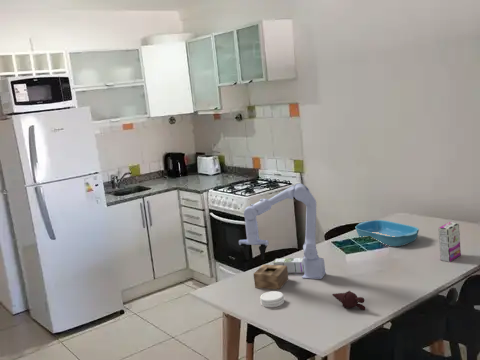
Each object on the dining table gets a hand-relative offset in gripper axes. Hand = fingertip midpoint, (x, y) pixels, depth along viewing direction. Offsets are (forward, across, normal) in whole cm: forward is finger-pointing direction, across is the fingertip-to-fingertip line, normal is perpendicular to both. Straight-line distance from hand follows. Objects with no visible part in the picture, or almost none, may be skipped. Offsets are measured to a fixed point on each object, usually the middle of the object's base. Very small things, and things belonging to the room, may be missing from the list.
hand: (255, 259), depth 245 cm
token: (+10, -8, +3) cm, 13 cm away
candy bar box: (+10, -84, -40) cm, 93 cm away
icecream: (+11, -49, +22) cm, 54 cm away
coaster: (+11, -16, +23) cm, 30 cm away
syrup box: (+8, -4, -12) cm, 15 cm away
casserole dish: (+11, -50, -67) cm, 84 cm away
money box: (+10, -8, +3) cm, 14 cm away
